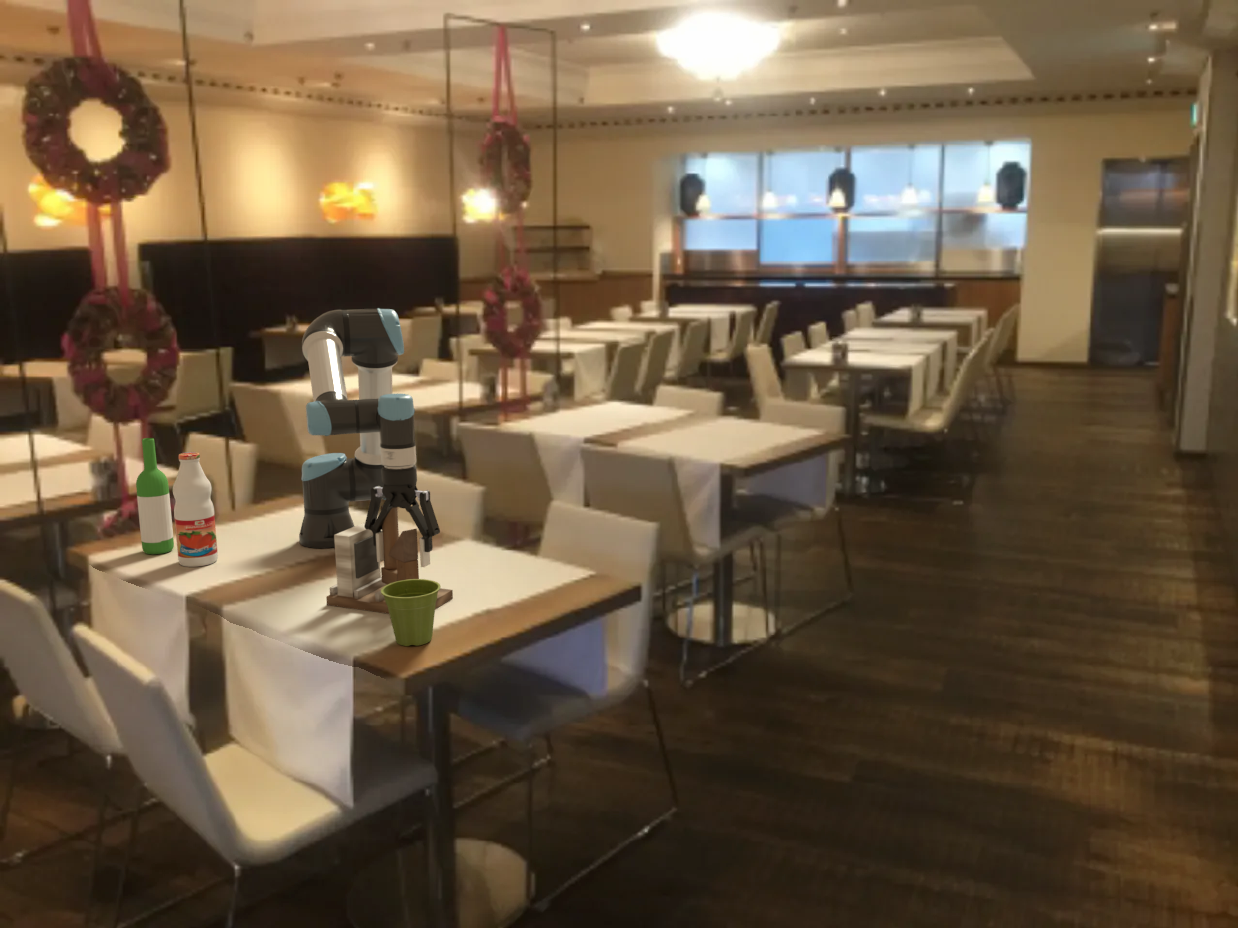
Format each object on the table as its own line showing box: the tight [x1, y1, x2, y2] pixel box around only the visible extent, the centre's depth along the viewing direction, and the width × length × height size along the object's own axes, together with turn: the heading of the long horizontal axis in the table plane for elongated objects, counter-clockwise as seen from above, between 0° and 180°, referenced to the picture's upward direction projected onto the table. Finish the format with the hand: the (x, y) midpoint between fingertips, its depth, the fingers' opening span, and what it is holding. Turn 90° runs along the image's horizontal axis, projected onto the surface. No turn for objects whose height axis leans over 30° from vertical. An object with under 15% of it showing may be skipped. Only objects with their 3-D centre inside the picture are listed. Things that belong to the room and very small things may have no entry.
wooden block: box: [380, 505, 420, 585], centre depth 241 cm, size 4×11×18 cm, turn 41°
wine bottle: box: [135, 437, 175, 555], centre depth 282 cm, size 8×8×30 cm
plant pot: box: [381, 578, 441, 647], centre depth 219 cm, size 12×12×11 cm
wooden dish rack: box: [325, 522, 454, 615], centre depth 243 cm, size 14×24×16 cm, turn 68°
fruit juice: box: [172, 451, 219, 568], centre depth 273 cm, size 9×9×28 cm
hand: (403, 562), depth 241 cm, fingers open, 11 cm apart
